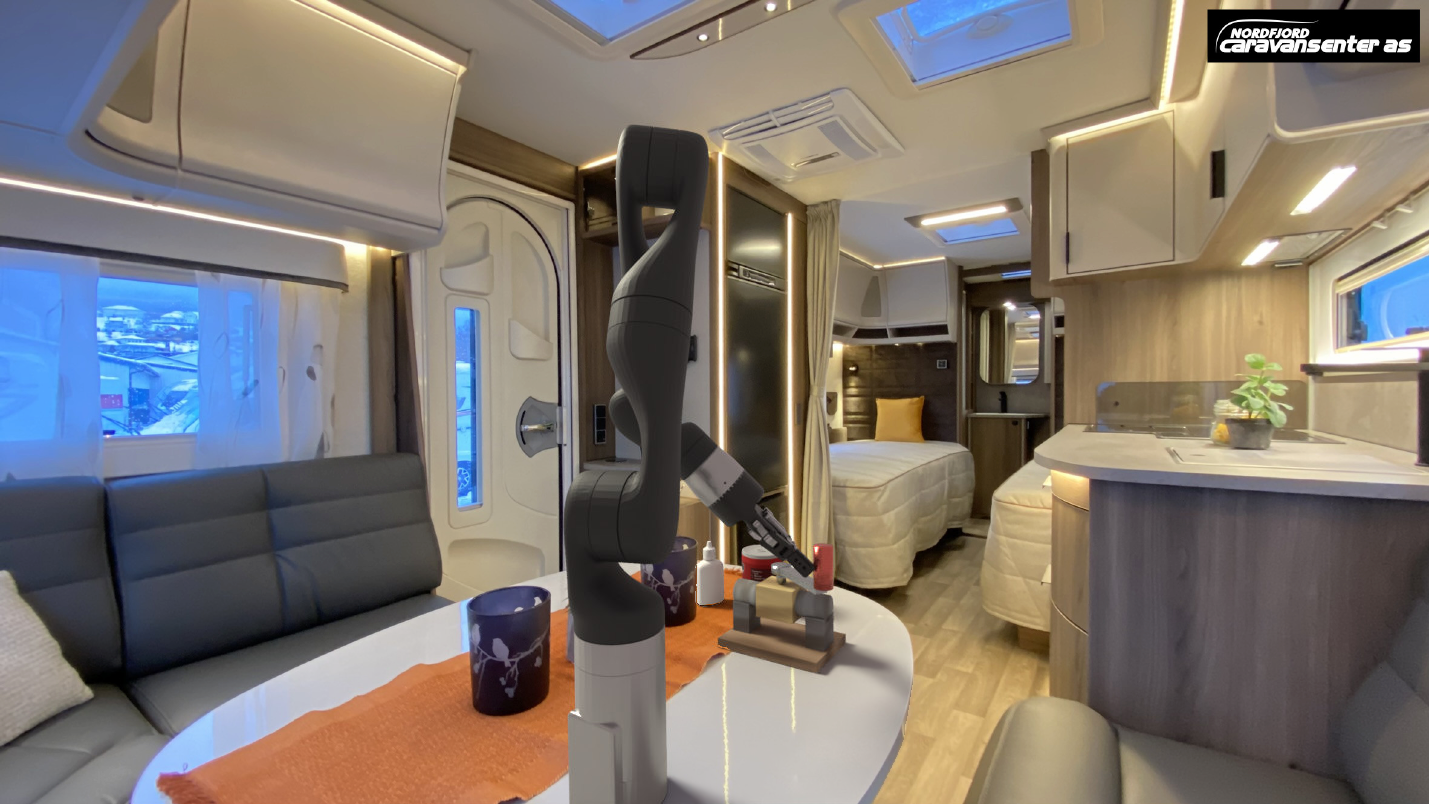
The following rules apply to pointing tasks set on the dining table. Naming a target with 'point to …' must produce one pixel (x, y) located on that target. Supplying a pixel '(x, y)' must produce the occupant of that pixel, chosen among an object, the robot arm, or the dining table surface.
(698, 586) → the eye dropper bottle
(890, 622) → the dining table surface
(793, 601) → the valve stand
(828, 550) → the valve lever
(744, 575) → the canned food
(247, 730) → the dining table surface
